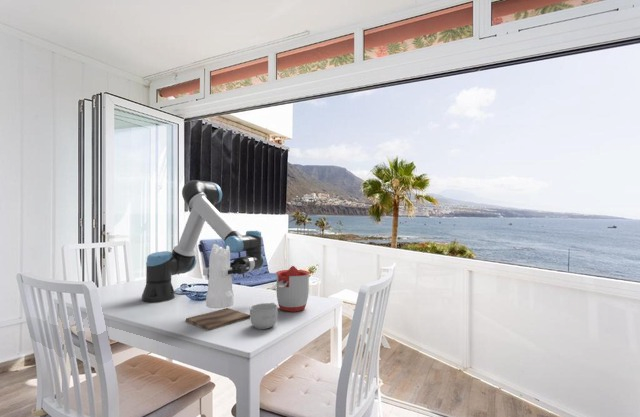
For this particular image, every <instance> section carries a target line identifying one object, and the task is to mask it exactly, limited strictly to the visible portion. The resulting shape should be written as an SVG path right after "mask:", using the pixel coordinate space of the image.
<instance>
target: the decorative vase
mask: <svg viewBox="0 0 640 417" xmlns="http://www.w3.org/2000/svg"><path fill="white" fill-rule="evenodd" d="M210 250H211V251H210V255H209V264H208V265H209V266H208V267H209V274H208V279H207V280H208V282H207V292H206V294H205V296H206V297H205V306H206V307H207V308H209V309H225V308H230V307H231V306H233V305H234V289H233V274H231V275H228V276H224V277H221V270H223V269H227V268H230V263H231V253H230V250H229V246H226V249H225V248H224V247H222V246H219V244H216V243H213V244H212V247H211V249H210Z"/></svg>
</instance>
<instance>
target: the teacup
mask: <svg viewBox="0 0 640 417" xmlns="http://www.w3.org/2000/svg"><path fill="white" fill-rule="evenodd" d="M249 315H250V318H249V319H250V323H251V325H252V326H253V327H255V328H256V329H259V330H265V329H270V328H272V327H274V325H275V324H276V323H277V322H278V305H277V303H276V304H275V302H270V303H269V302H268V303H267V302H265V303H259V304H258V303H257V304H253V305H251V306H250V307H249Z"/></svg>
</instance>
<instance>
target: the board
mask: <svg viewBox="0 0 640 417" xmlns="http://www.w3.org/2000/svg"><path fill="white" fill-rule="evenodd" d="M247 319H250V314H248V313H245V312H241V311H238V310H234V309H232V308H230V307H225V308H220V309H218V310H214V311H210V312H207V313H202V314H198V315H194V316H190V317H187V318H185V322H186V323H189V324H192V325H194V326H196V327H199V328H201V329H204V330H206V331H212V330H214V329H219V328H221V327H224V326H227V325H231V324H234V323H237V322H241V321H245V320H247Z"/></svg>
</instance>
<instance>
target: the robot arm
mask: <svg viewBox="0 0 640 417" xmlns="http://www.w3.org/2000/svg"><path fill="white" fill-rule="evenodd" d="M181 195H182V198H183V200H184V202H185V203H186V205H187V206H189V208H190V209H191V210H190V213H189V215H188V218H187V221H186V223H185V226H184V228H183V231H182V233H181V236H180V239H179V242H178V244H177V245H175V246H174V247H173V249H172V251H167V250H165V251H156V252H152V253H150V254H148V255H147V257H146V262H145V263H146V264H145V265H146V270H145V273H146V274H145V275H146V276H145V277H146V279H145V286H144V289H143V291H142V294H141V301H142V302H146V303H158V302H165V301H169V300H173V299H174V298H175V295H176V293H175V290H174V286H173V284H172V276H175V275H180V274H182V275H183V274H186V273H189V272H191V271H192V270H194V268H195V267H196V265H197V259H196V258H197V255H196V252H195V248H196V245H197V242H198V240H199V237H200V235H201V233H202V229H203V227H204V224H205V222H206V223H207V224H208V225H209V227H211V229H212V230H213V231H214V232H215V233H216V234H217V235H218V236H219V238H221V239H222V241H223V242H224V243H223V244H224V245H223V246H224V249H226V246H229V250H230V254H235V253H237V254H238V253H241V252H242V253H243V252H245V255H244V256H241V257H236V258H235V259H234V260H233V261H232V262H231V261H230V268H227V269H223V270H221V277H224V276H228V275H236V274H237V275H243V274H248V273H249V272H252V271H257V270H260V269H262V268H263V267H264V266H265V262H266V258H265V257H264V255H263V254H262V232H261V231H260V230H247V231H245V234H244V235H242V234H241V233H240V232H239V231H238V230H237V229H235V227H234V226H233V225H232V224H231V223H230V222H229V221H228V220H227V219H226V218H225V216H224V215H223V214H222V213H221V212H220V211H219V209H217V208H216V207H215V205H217V204H218V203H220V202H221V201H222V199H223V191H222V189H221V186H219V184H217V183H215V182H212V181H206V180H205V181H204V180H197V179H192V180H189V181H187V182H186V183H185V184H184V185H183V187H182V190H181ZM202 276H209V266H208V267H204V268H202Z"/></svg>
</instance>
